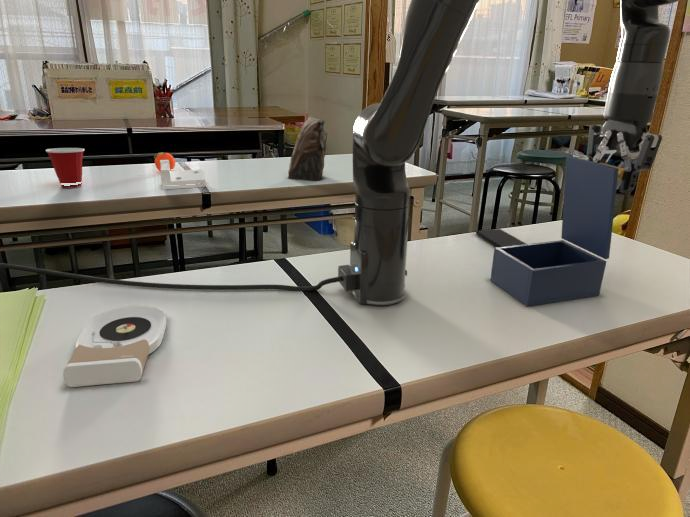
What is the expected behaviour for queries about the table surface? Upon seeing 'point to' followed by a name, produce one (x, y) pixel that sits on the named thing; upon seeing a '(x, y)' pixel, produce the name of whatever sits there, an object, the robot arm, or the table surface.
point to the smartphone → (499, 238)
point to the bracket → (180, 177)
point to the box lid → (589, 204)
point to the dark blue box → (547, 272)
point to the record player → (115, 346)
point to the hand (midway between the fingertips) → (611, 187)
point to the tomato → (164, 157)
